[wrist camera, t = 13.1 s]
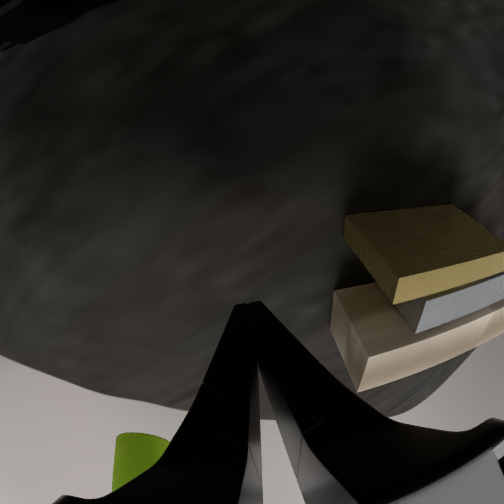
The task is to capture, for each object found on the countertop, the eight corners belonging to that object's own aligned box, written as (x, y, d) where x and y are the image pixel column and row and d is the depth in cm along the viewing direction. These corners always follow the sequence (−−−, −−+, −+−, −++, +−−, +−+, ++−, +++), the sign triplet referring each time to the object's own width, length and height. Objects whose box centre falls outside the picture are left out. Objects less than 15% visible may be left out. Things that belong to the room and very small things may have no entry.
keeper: (344, 215, 13) (399, 278, 9) (451, 203, 14) (511, 249, 10) (343, 238, 14) (392, 304, 10) (448, 222, 15) (504, 270, 10)
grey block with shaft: (379, 245, 15) (426, 301, 11) (468, 229, 15) (515, 270, 11) (358, 354, 19) (382, 406, 16) (435, 330, 20) (463, 372, 16)
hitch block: (333, 290, 16) (368, 357, 12) (481, 257, 17) (523, 297, 12) (329, 328, 17) (357, 392, 13) (469, 290, 18) (505, 331, 14)
